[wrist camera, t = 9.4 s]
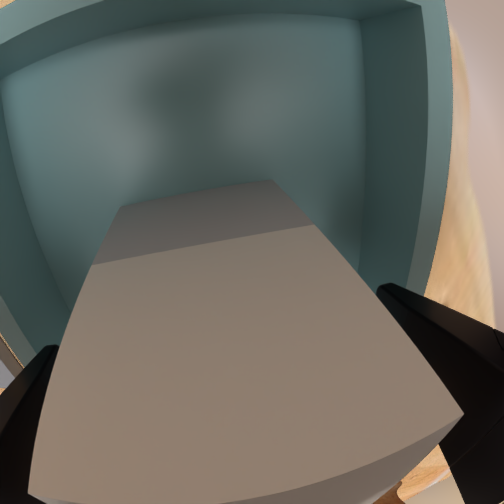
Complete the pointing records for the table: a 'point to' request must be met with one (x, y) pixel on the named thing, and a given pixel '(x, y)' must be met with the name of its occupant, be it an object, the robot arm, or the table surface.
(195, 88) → the bin
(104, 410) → the beige rectangular block
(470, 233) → the table surface
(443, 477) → the table surface
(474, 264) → the table surface
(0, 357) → the stud base
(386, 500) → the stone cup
